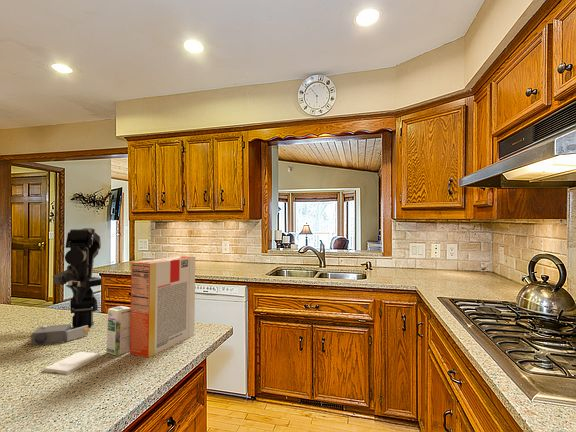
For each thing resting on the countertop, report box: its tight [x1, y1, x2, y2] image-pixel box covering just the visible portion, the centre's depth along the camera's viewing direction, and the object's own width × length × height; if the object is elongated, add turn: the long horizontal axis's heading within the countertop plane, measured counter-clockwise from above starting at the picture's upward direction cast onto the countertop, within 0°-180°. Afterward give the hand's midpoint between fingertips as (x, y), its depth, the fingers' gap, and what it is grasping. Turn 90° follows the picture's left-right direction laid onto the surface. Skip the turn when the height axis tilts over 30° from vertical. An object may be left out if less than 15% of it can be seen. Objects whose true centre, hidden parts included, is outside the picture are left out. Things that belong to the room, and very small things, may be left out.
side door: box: [63, 325, 90, 343], centre depth 121 cm, size 2×9×4 cm, turn 154°
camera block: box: [30, 323, 72, 346], centre depth 120 cm, size 10×9×5 cm
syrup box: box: [106, 305, 131, 357], centre depth 110 cm, size 6×6×14 cm
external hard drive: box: [42, 351, 101, 375], centre depth 100 cm, size 2×8×12 cm
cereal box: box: [129, 255, 196, 358], centre depth 118 cm, size 23×8×30 cm, turn 158°
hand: (78, 303), depth 125 cm, fingers closed
